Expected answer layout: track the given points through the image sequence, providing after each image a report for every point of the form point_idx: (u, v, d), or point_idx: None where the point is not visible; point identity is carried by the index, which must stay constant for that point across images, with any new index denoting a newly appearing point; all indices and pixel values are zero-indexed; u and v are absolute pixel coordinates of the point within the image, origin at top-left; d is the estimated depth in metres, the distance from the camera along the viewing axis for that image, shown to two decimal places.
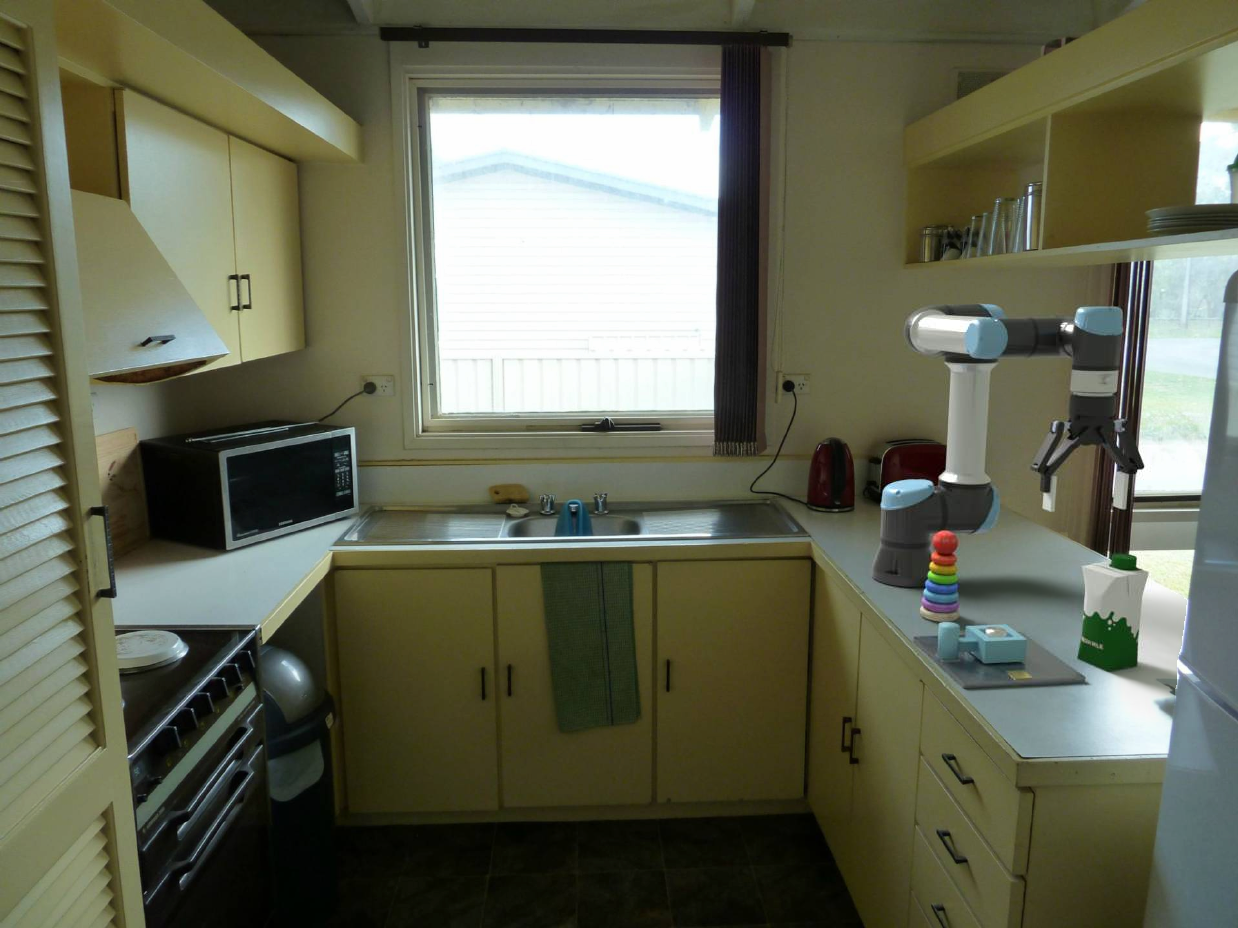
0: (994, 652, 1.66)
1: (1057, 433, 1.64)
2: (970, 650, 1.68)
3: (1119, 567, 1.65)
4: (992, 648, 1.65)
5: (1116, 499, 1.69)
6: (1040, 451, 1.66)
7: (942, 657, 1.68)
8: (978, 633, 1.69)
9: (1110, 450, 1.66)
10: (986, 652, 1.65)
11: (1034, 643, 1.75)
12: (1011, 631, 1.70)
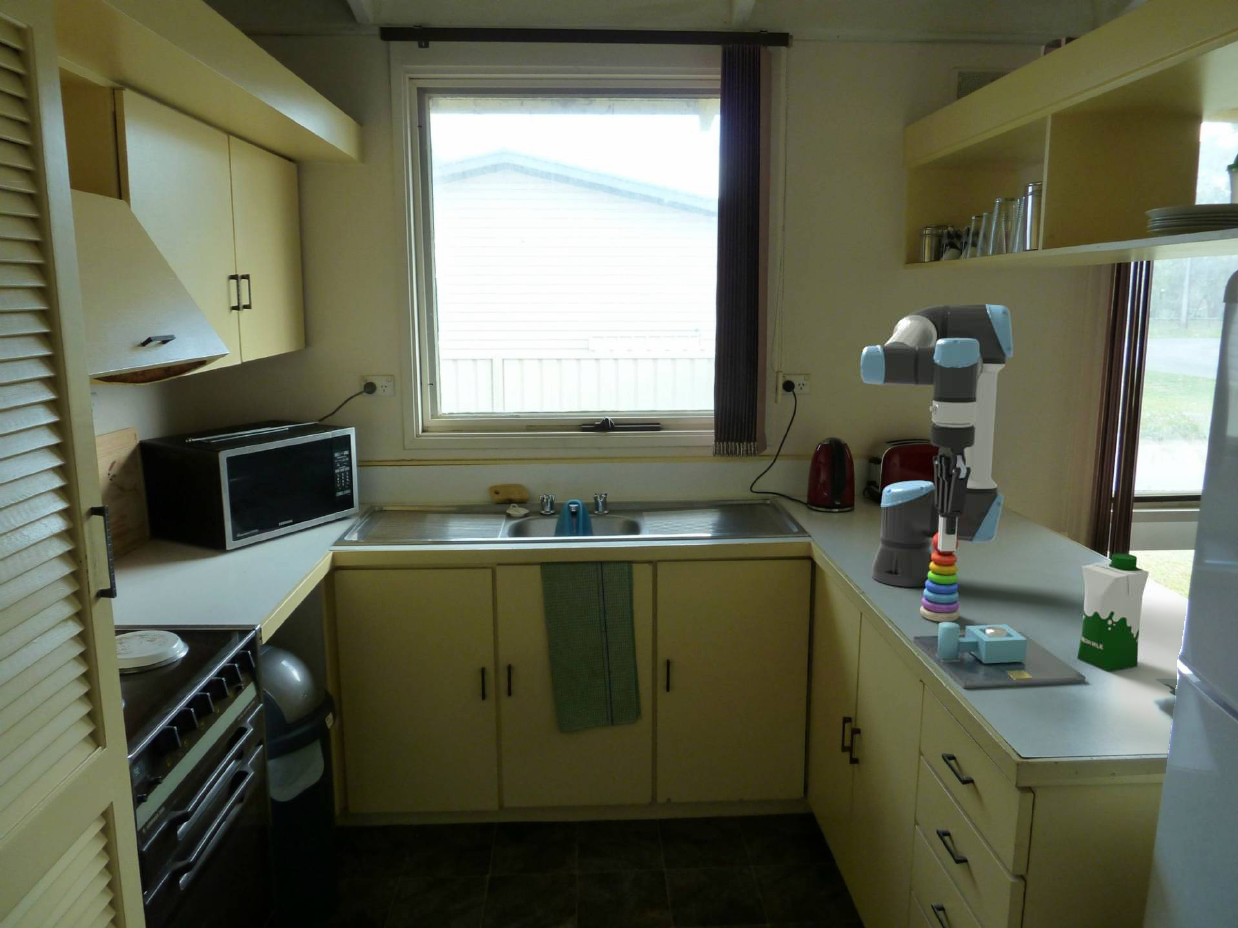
0: (994, 652, 1.66)
1: (934, 467, 1.73)
2: (970, 650, 1.68)
3: (1119, 567, 1.65)
4: (992, 648, 1.65)
5: None
6: None
7: (942, 657, 1.68)
8: (978, 633, 1.69)
9: None
10: (986, 652, 1.65)
11: (1034, 643, 1.75)
12: (1011, 631, 1.70)
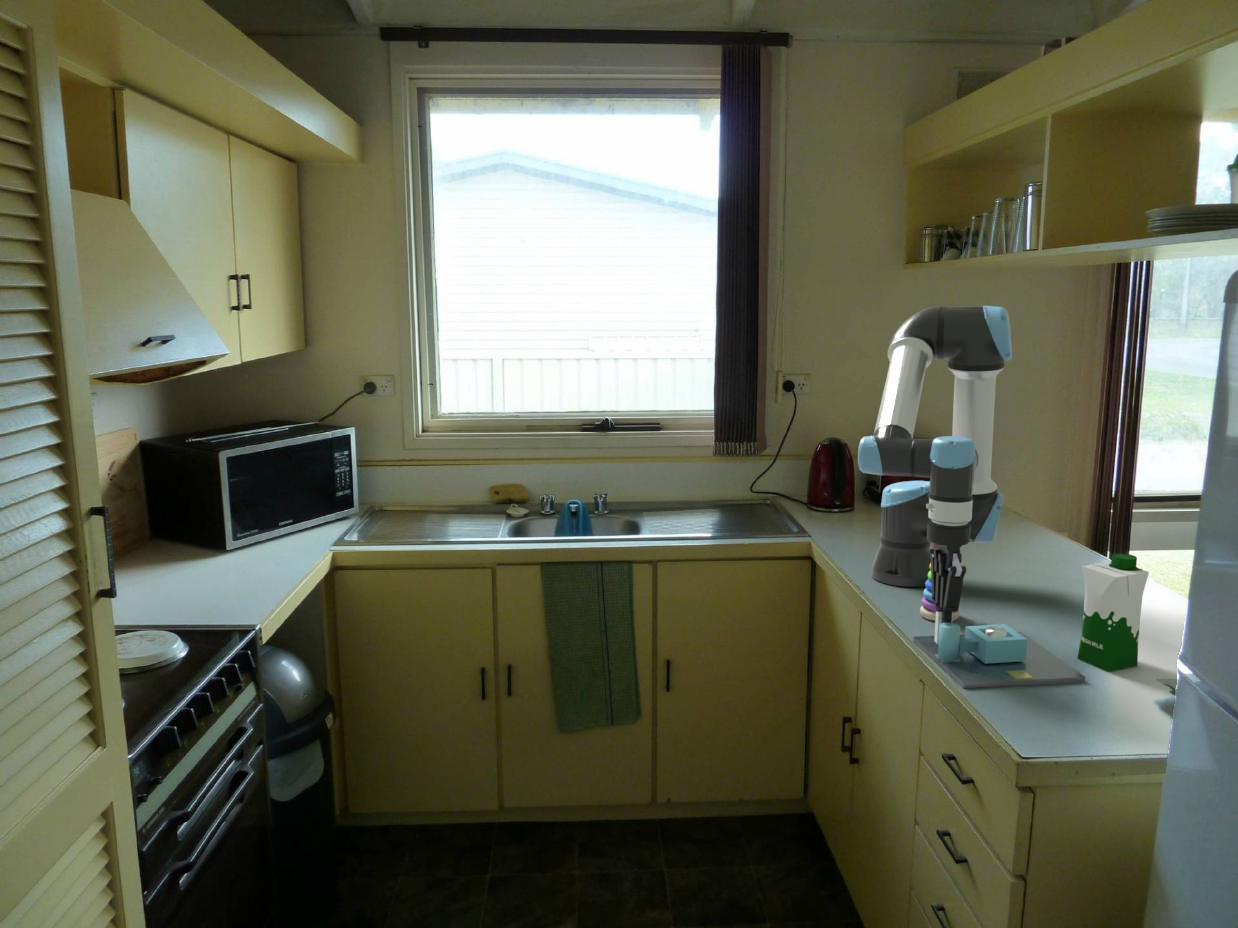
0: (995, 652, 1.65)
1: (930, 560, 1.75)
2: (971, 650, 1.68)
3: (1119, 567, 1.65)
4: (993, 648, 1.65)
5: None
6: None
7: (943, 658, 1.68)
8: (979, 634, 1.69)
9: None
10: (987, 652, 1.65)
11: (1034, 643, 1.75)
12: (1011, 631, 1.70)
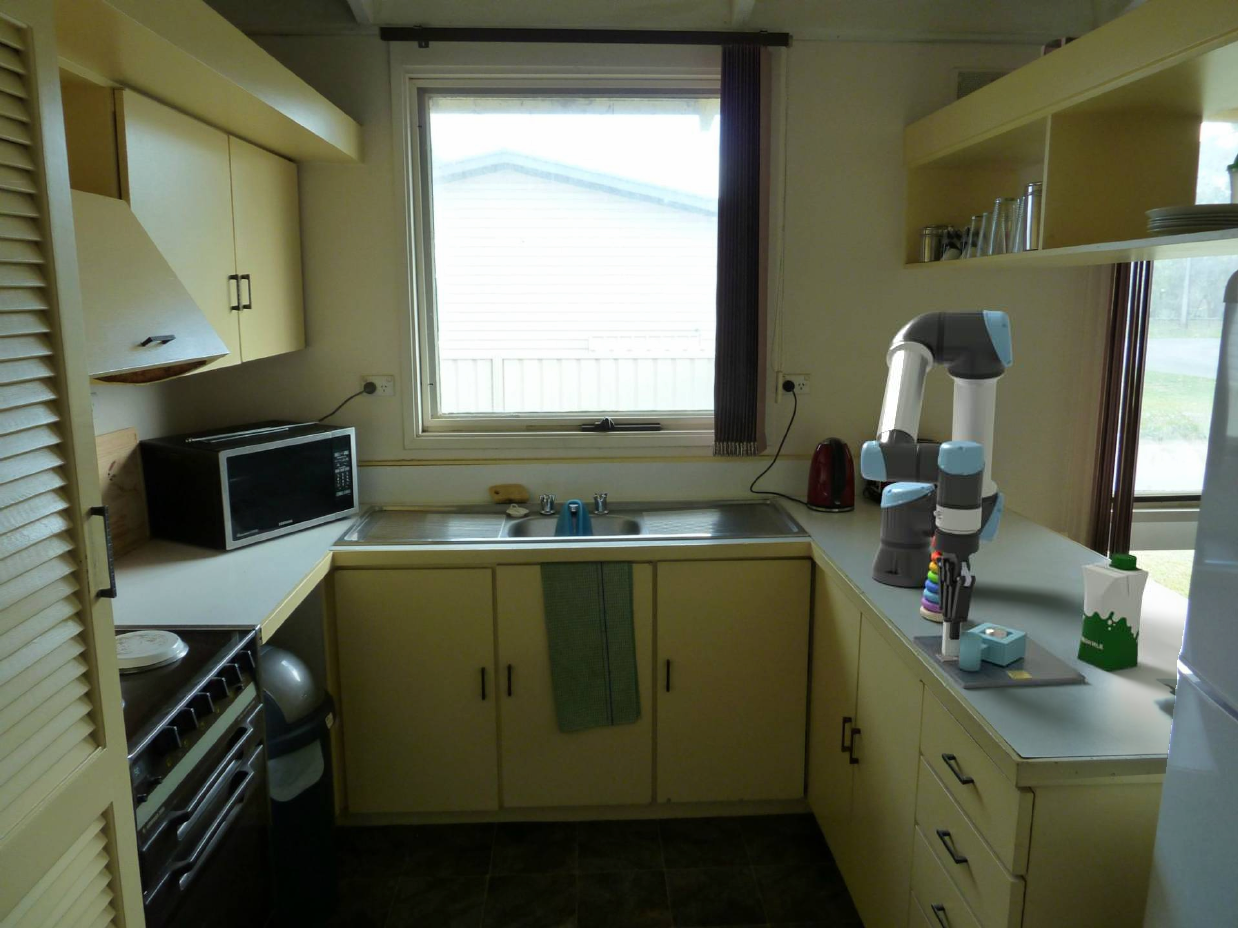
0: (1009, 652, 1.65)
1: (937, 568, 1.70)
2: (985, 655, 1.66)
3: (1119, 567, 1.65)
4: (1009, 649, 1.65)
5: None
6: None
7: (970, 669, 1.62)
8: (987, 637, 1.67)
9: None
10: (1005, 654, 1.64)
11: (1034, 643, 1.75)
12: (1003, 628, 1.71)
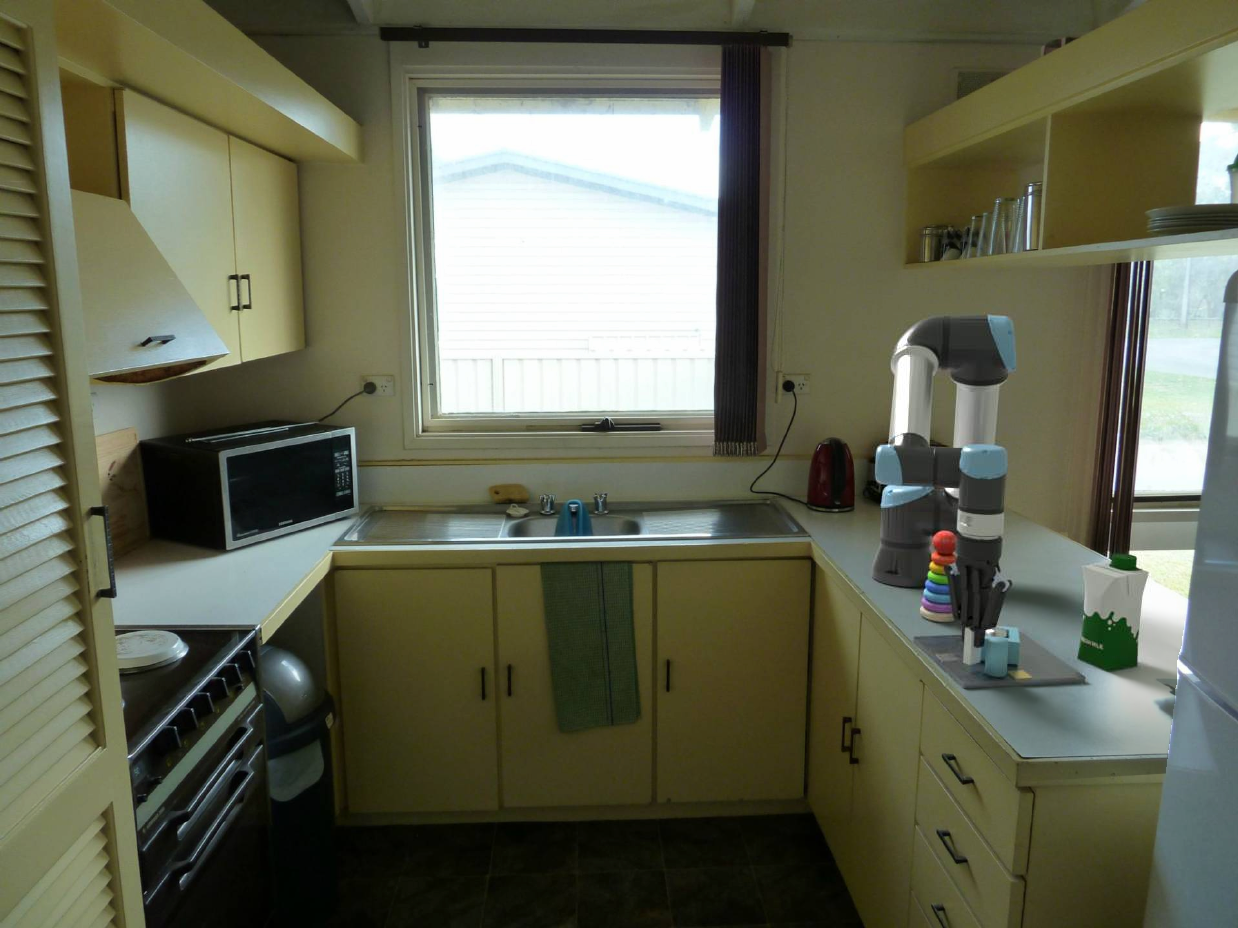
0: None
1: (947, 577, 1.65)
2: None
3: (1119, 567, 1.65)
4: None
5: None
6: None
7: (1002, 675, 1.60)
8: None
9: None
10: (1018, 653, 1.65)
11: (1034, 643, 1.75)
12: None
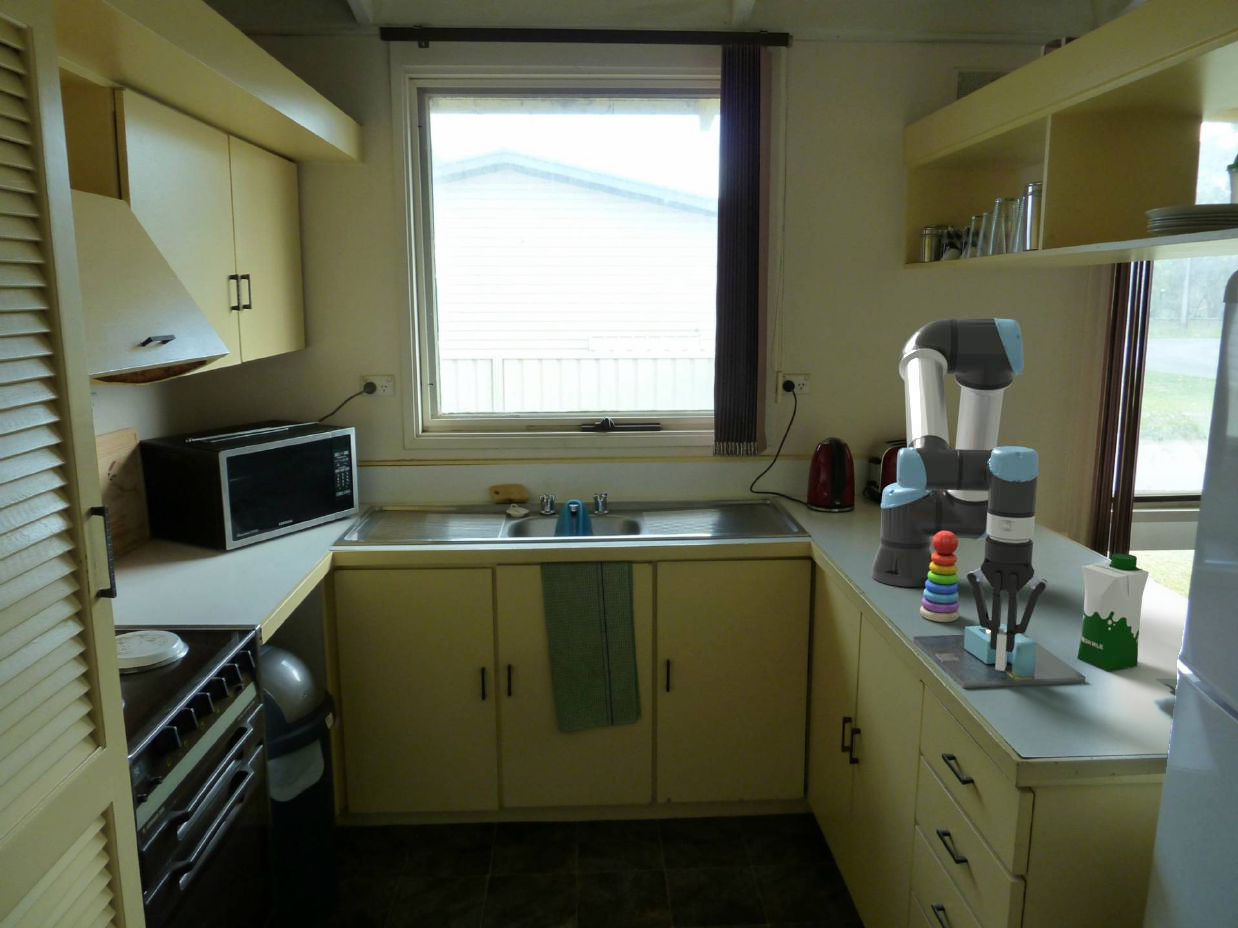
0: None
1: (972, 585, 1.60)
2: None
3: (1119, 567, 1.65)
4: None
5: None
6: None
7: (1033, 674, 1.60)
8: None
9: (1009, 601, 1.58)
10: None
11: None
12: None
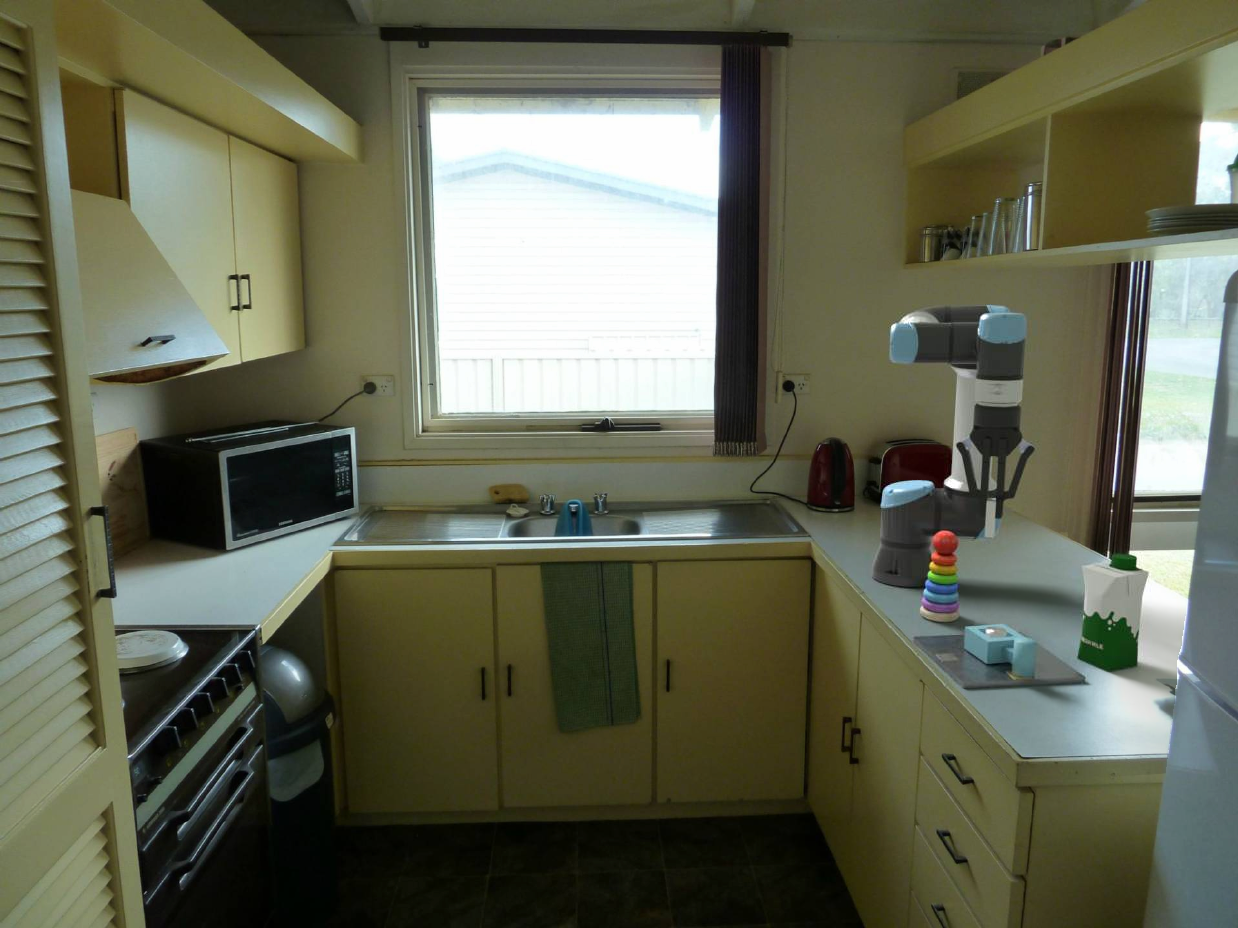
0: None
1: (962, 453, 1.61)
2: None
3: (1119, 567, 1.65)
4: None
5: None
6: None
7: (1033, 674, 1.60)
8: (1007, 639, 1.66)
9: None
10: None
11: None
12: (985, 626, 1.72)
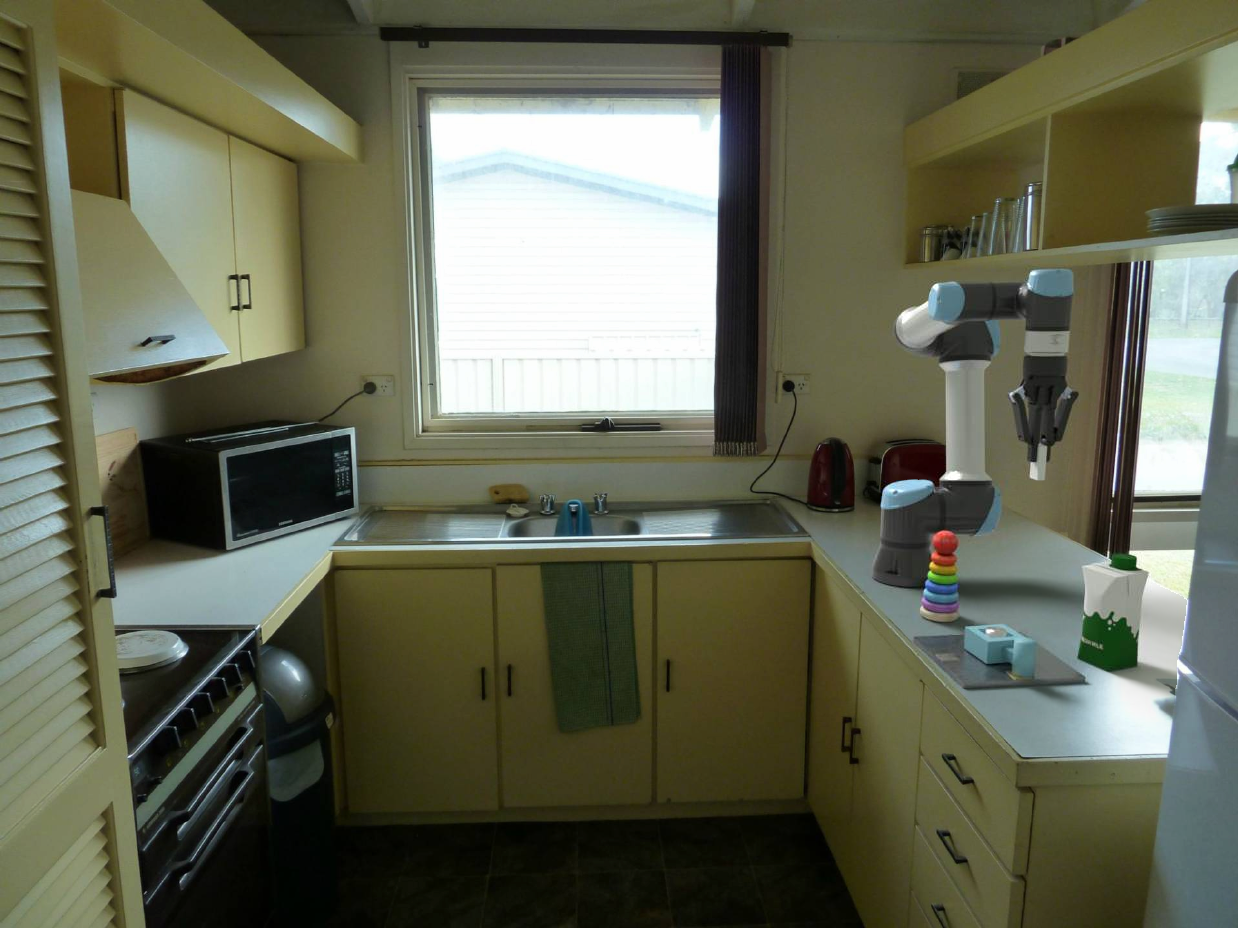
0: None
1: (1018, 403, 1.70)
2: None
3: (1119, 567, 1.65)
4: None
5: None
6: (1016, 423, 1.72)
7: (1033, 674, 1.60)
8: (1007, 639, 1.66)
9: (1046, 413, 1.71)
10: None
11: None
12: (985, 626, 1.72)
